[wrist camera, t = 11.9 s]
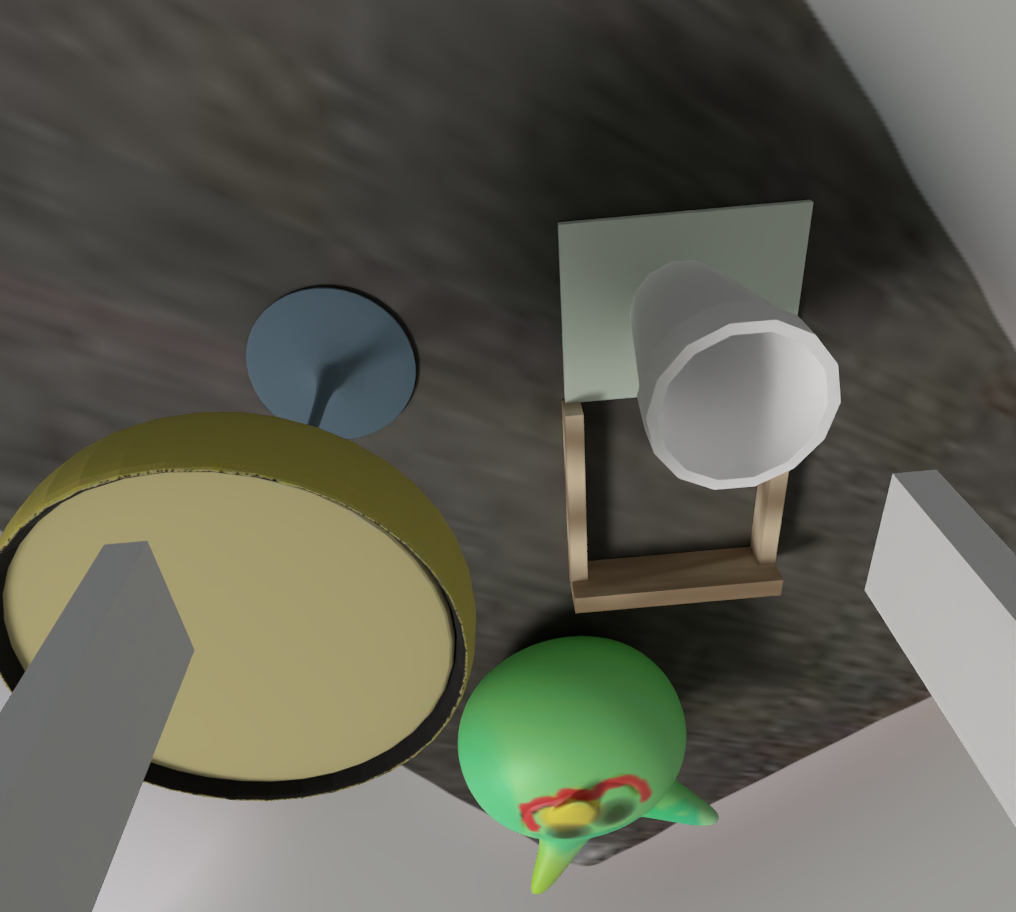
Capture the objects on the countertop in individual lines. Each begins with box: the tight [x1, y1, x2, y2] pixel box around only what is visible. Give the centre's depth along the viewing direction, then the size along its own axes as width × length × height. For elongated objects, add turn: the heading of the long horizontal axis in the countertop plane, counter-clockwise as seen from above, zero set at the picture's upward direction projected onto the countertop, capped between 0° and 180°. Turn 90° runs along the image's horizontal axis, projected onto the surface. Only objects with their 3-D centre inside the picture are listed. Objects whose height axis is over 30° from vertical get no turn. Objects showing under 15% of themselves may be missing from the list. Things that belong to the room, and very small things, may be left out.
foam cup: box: [630, 260, 841, 490], centre depth 43 cm, size 10×9×13 cm
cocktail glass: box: [0, 287, 476, 801], centre depth 39 cm, size 18×18×25 cm
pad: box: [558, 200, 813, 403], centre depth 48 cm, size 12×15×1 cm
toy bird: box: [458, 636, 719, 894], centre depth 60 cm, size 18×17×15 cm
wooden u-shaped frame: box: [562, 400, 789, 613], centre depth 54 cm, size 16×15×4 cm
